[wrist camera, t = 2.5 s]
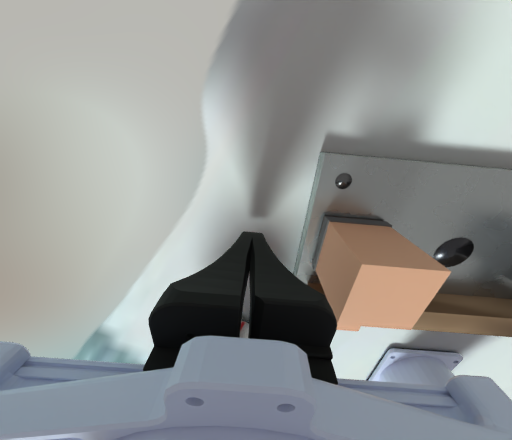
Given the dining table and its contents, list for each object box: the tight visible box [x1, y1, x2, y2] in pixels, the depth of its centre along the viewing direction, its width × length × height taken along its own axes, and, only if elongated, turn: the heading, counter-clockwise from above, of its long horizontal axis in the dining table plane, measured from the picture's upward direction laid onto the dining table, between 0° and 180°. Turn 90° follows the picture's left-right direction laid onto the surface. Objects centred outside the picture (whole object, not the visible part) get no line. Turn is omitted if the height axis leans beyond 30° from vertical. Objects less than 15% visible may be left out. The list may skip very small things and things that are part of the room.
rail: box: [307, 283, 512, 337], centre depth 15 cm, size 2×20×2 cm, turn 85°
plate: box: [293, 152, 512, 299], centre depth 14 cm, size 12×22×1 cm, turn 85°
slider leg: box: [312, 216, 451, 331], centre depth 12 cm, size 7×4×5 cm, turn 175°
